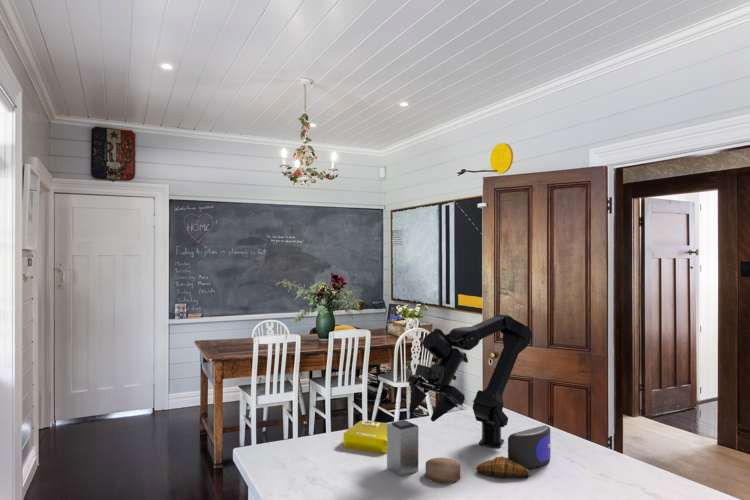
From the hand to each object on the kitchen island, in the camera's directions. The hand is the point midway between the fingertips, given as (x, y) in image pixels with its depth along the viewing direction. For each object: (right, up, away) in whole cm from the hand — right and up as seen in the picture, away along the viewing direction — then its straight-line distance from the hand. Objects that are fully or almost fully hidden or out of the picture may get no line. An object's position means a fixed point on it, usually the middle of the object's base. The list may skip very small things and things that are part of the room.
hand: (420, 416), depth 139 cm
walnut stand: (+5, -13, -7) cm, 16 cm away
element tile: (-13, -14, +17) cm, 26 cm away
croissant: (+21, -14, -7) cm, 26 cm away
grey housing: (-5, -13, -4) cm, 15 cm away
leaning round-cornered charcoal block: (+30, -14, +1) cm, 33 cm away
